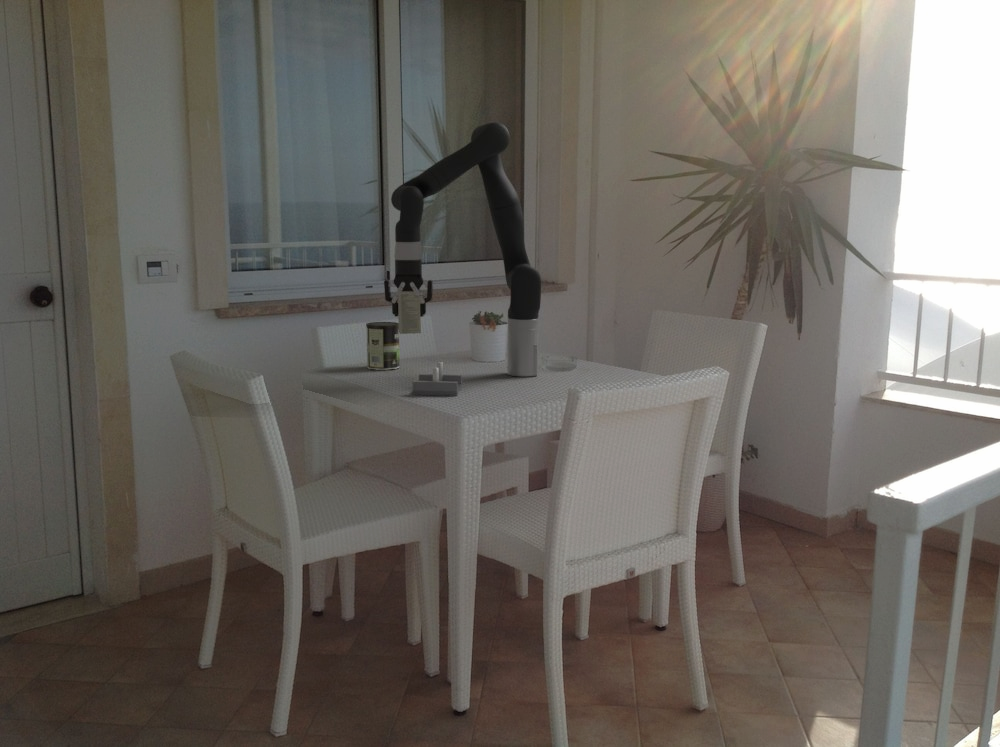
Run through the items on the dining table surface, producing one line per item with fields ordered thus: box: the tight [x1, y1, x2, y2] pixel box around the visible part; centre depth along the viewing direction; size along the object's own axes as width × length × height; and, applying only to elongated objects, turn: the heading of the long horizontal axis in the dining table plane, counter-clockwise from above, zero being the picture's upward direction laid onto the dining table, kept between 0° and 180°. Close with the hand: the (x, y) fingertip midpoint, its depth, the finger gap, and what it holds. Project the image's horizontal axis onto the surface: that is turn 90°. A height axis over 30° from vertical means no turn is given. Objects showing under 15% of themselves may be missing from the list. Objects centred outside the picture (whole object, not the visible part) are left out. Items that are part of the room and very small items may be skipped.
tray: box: [412, 361, 463, 397], centre depth 260 cm, size 12×12×7 cm
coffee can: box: [365, 321, 400, 371], centre depth 295 cm, size 10×10×14 cm
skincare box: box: [397, 291, 422, 335], centre depth 269 cm, size 6×4×12 cm
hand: (409, 316), depth 270 cm, fingers closed on skincare box, 7 cm apart
